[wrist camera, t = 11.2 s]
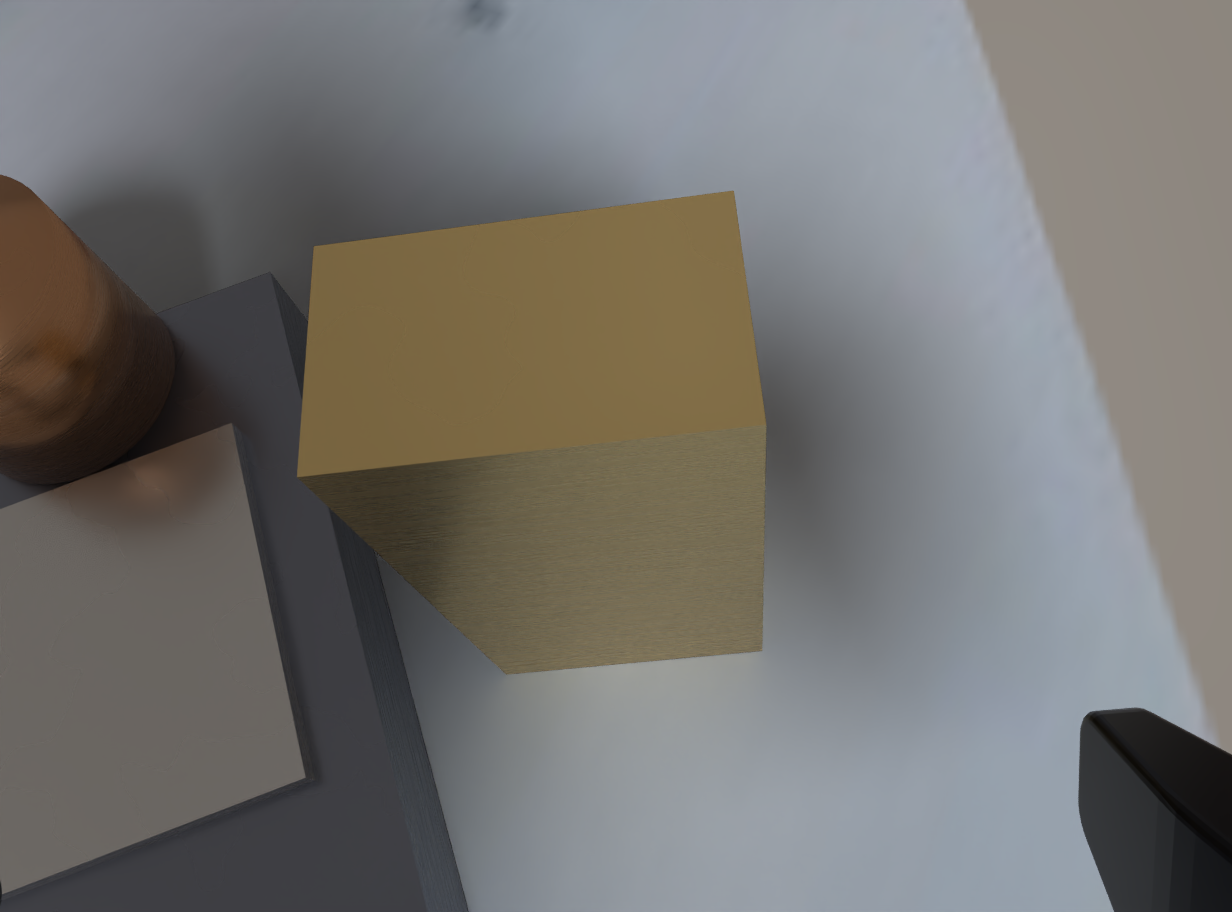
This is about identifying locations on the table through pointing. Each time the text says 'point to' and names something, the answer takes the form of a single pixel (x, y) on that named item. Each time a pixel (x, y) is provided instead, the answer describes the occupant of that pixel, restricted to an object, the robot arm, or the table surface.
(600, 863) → the table surface
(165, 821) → the plane body
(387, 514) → the brushed brass block
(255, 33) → the table surface
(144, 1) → the table surface
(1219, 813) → the robot arm
